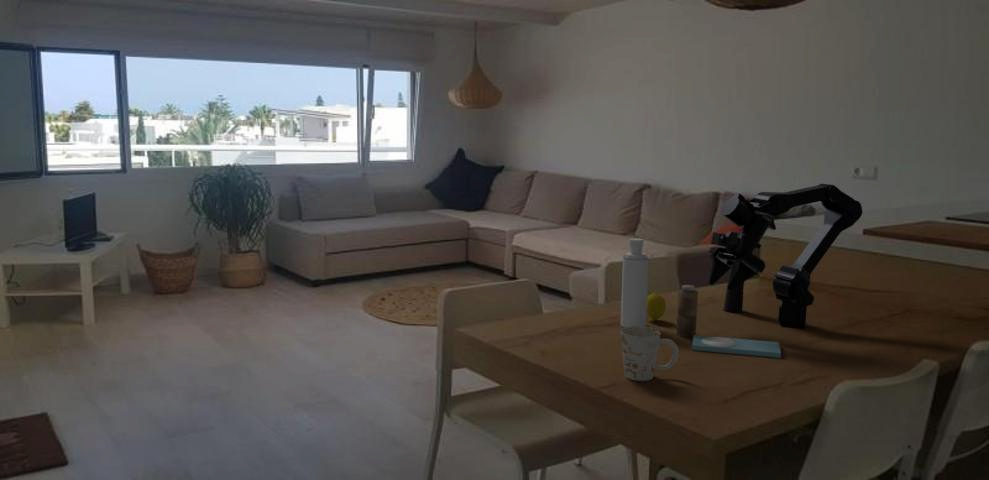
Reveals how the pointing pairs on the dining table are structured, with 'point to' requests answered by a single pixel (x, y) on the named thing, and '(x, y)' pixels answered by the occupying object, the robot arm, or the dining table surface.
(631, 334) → the mug
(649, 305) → the lemon
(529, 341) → the dining table surface
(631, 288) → the white bottle
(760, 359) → the dining table surface
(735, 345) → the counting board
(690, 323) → the pepper mill
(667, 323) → the dining table surface
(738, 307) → the butter churn
